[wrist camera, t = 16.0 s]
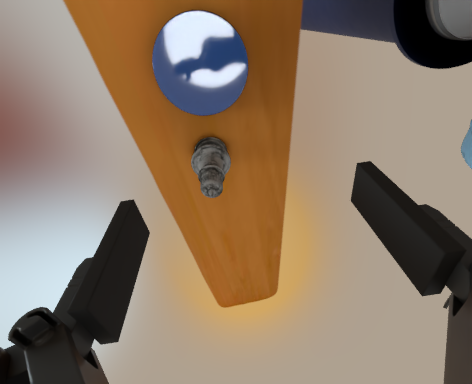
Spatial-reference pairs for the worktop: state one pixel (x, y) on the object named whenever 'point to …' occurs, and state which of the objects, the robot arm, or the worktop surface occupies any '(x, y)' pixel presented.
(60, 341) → the robot arm
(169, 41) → the plate
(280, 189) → the worktop surface
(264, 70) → the worktop surface
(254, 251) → the worktop surface
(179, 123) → the worktop surface
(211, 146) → the grey tall tiered piece
